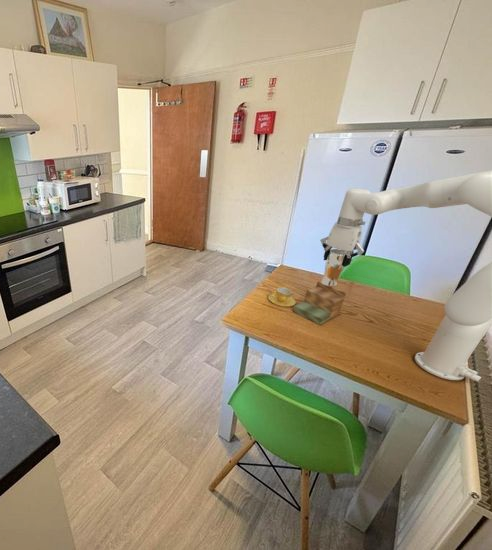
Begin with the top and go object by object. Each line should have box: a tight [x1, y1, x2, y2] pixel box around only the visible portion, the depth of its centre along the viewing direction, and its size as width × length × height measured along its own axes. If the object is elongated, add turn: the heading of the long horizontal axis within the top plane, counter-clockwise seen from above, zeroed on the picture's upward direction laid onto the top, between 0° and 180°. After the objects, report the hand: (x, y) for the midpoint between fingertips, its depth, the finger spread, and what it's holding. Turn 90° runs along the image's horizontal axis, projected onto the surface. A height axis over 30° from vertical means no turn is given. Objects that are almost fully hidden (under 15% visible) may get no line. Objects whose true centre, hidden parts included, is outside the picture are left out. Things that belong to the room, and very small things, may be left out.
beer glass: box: [320, 248, 347, 288], centre depth 125 cm, size 7×7×15 cm
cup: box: [267, 286, 297, 307], centre depth 142 cm, size 12×12×5 cm
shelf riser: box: [292, 281, 348, 326], centre depth 131 cm, size 12×15×11 cm
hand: (335, 262), depth 124 cm, fingers closed on beer glass, 7 cm apart
